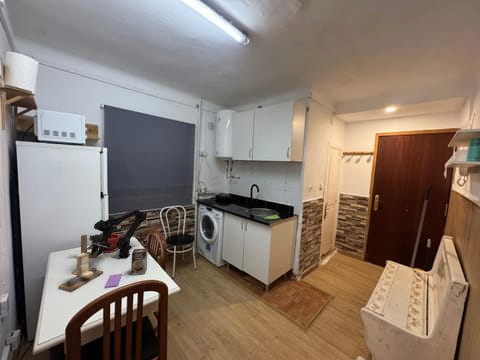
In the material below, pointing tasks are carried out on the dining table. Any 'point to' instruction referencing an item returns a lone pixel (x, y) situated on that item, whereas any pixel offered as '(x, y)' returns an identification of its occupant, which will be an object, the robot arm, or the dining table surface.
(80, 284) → the stand
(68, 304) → the dining table surface
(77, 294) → the dining table surface
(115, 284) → the sponges
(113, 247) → the plant pot
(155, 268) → the dining table surface
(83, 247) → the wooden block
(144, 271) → the coffee box
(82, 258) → the oak T piece
